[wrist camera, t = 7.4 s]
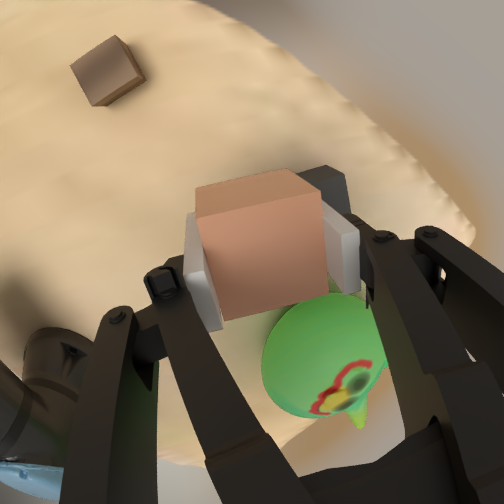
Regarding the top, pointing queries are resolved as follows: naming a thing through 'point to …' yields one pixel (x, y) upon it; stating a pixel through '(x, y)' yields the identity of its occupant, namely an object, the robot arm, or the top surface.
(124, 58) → the walnut cube
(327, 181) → the black rubber cube
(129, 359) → the robot arm
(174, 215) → the top surface
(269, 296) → the terracotta cube
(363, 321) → the toy bird
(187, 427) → the top surface
